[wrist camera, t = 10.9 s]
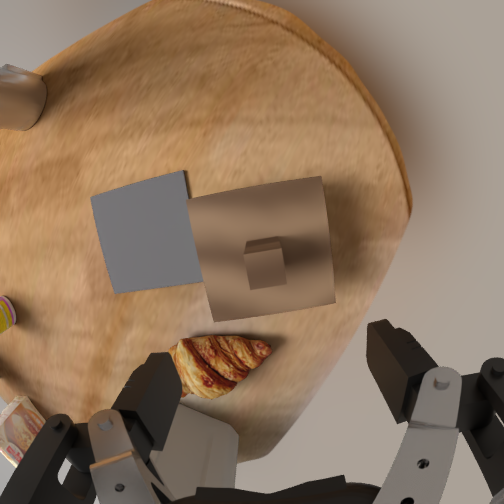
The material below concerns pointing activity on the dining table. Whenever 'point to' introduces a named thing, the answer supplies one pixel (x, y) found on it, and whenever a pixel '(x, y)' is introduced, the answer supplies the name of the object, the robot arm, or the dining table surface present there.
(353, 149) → the dining table surface
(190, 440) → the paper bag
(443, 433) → the robot arm
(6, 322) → the supplement bottle
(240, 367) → the croissant
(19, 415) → the coffeecake box
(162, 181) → the plate
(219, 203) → the lid
